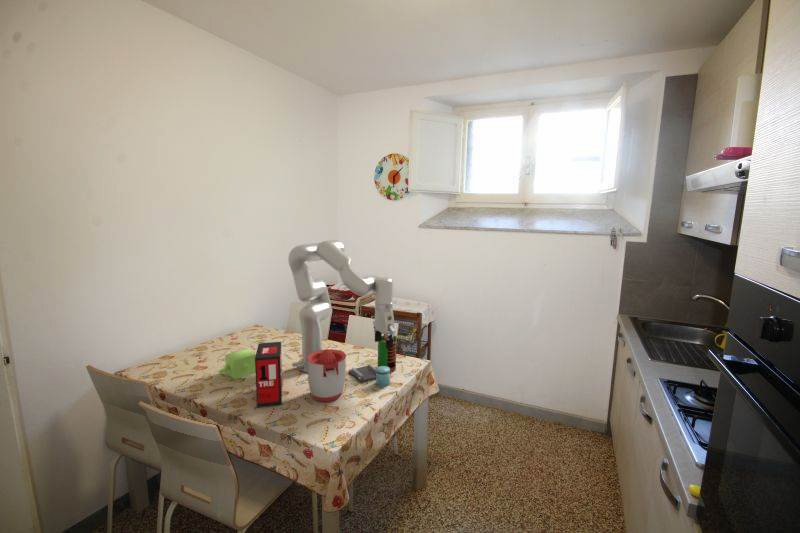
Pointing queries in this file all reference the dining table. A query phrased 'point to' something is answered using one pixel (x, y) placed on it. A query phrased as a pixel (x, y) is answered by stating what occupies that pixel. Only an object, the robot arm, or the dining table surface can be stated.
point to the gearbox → (239, 363)
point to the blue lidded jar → (382, 376)
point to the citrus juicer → (326, 374)
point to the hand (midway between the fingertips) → (383, 344)
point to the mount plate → (364, 373)
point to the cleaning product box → (268, 374)
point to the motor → (387, 354)
